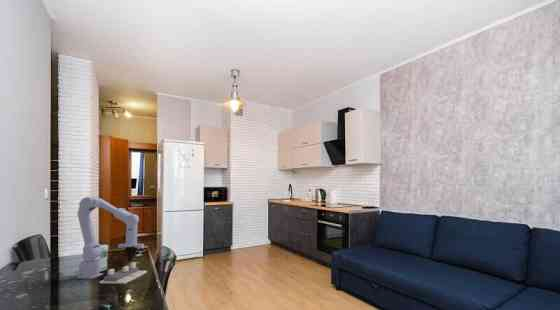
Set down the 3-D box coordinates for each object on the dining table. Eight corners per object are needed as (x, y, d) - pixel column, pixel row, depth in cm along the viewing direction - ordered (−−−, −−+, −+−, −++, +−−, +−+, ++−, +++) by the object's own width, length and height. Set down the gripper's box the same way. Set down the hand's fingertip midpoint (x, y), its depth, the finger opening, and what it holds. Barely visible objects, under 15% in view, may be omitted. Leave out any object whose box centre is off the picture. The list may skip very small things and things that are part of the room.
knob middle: (122, 271, 150) (122, 267, 150) (126, 270, 153) (126, 265, 153) (125, 271, 150) (125, 267, 150) (128, 270, 153) (128, 265, 153)
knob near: (107, 275, 145) (107, 270, 145) (111, 273, 147) (111, 268, 148) (110, 275, 144) (110, 270, 145) (114, 273, 147) (114, 268, 147)
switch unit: (99, 283, 142) (99, 277, 143) (124, 272, 161) (124, 266, 161) (124, 283, 141) (125, 277, 141) (146, 272, 160) (147, 266, 160)
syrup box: (99, 271, 163) (101, 246, 165) (91, 271, 164) (92, 246, 166) (107, 269, 169) (108, 244, 171) (99, 268, 170) (100, 244, 172)
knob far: (129, 268, 156) (130, 264, 156) (133, 267, 159) (133, 262, 159) (132, 268, 156) (132, 264, 156) (135, 267, 158) (135, 262, 159)
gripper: (115, 237, 156) (113, 262, 155) (139, 237, 155) (137, 262, 153) (123, 235, 163) (122, 259, 162) (146, 235, 162) (145, 259, 160)
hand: (130, 260), depth 158 cm, fingers closed
